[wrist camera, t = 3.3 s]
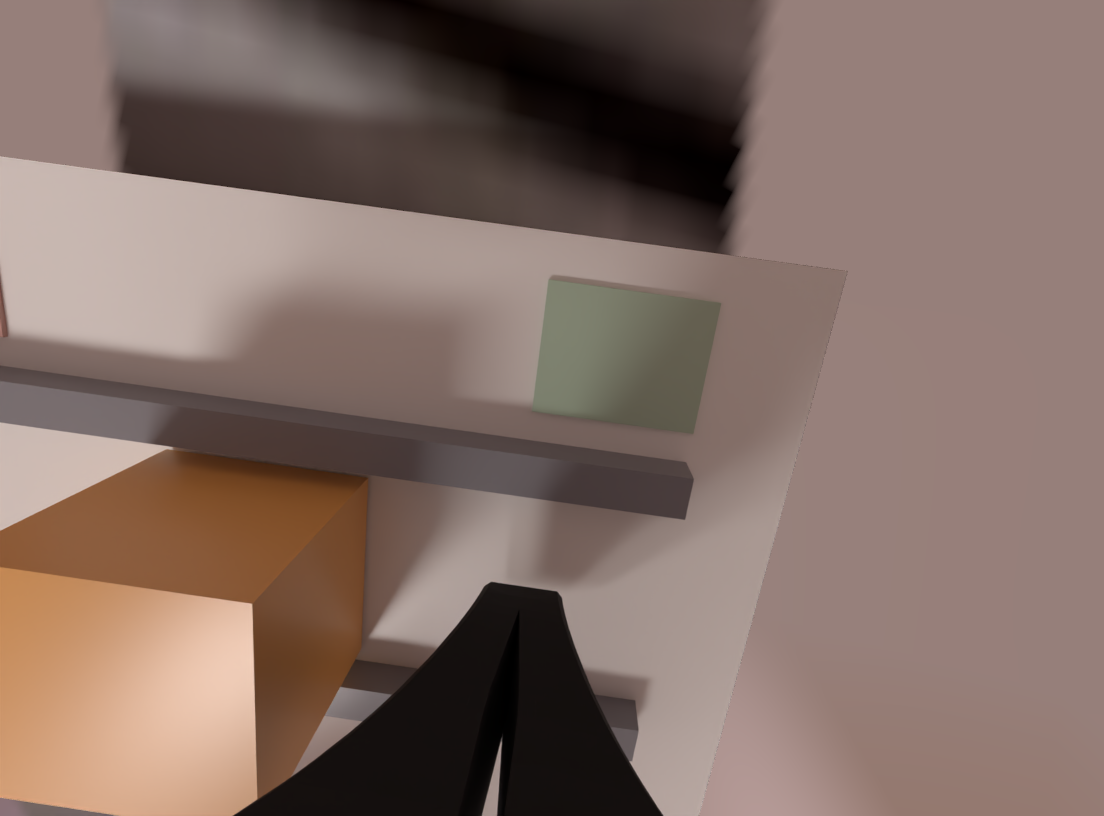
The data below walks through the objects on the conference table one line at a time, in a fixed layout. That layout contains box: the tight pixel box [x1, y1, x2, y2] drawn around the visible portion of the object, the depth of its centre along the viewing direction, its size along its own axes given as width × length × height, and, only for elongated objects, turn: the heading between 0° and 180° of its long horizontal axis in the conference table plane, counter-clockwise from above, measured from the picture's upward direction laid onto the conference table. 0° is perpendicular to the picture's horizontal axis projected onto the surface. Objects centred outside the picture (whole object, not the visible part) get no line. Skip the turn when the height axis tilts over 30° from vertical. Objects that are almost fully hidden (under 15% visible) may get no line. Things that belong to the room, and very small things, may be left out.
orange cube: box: [0, 449, 368, 816], centre depth 10 cm, size 4×4×4 cm
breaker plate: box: [0, 156, 847, 816], centre depth 12 cm, size 14×20×3 cm
